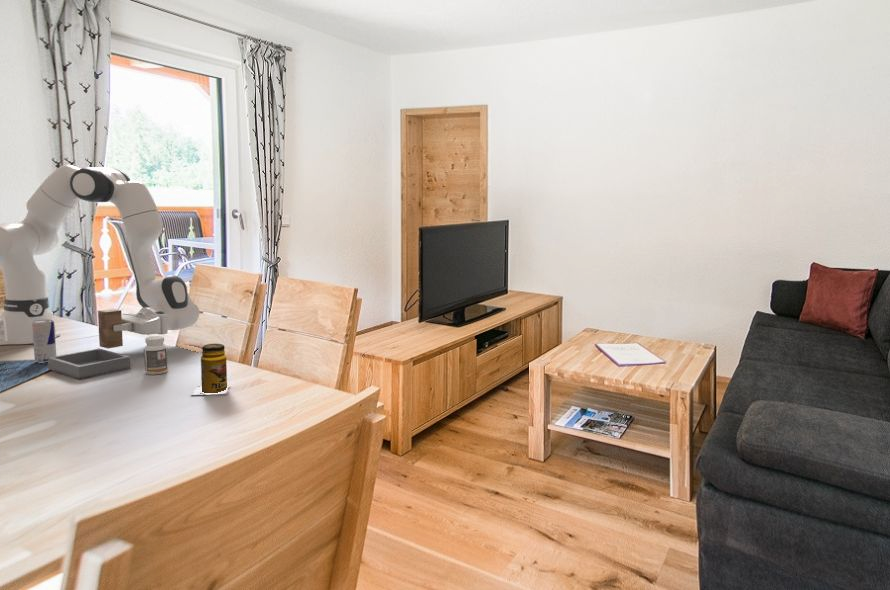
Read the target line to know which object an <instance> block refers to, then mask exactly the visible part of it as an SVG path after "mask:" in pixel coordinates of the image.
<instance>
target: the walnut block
mask: <svg viewBox="0 0 890 590" xmlns="http://www.w3.org/2000/svg"><path fill="white" fill-rule="evenodd" d="M121 313H122V310H121V309H117V308H106V309H100V310H97V321H98V322H97V323H98V339H99V340H98V341H99V347H101V348H104V349H113V348H119V347H123V346H124V345H123V343H124V342H123V331H113V330H112V325H116V324H118V325H119V324H122V316H121Z"/></svg>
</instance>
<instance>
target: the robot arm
mask: <svg viewBox="0 0 890 590" xmlns="http://www.w3.org/2000/svg"><path fill="white" fill-rule="evenodd" d="M81 200H83V201H85V202H89V203H108V202H109V203H112V204H114V206H115V207H116V208H117V211H118V213H119V215H120V218H121V220H122V223H123V227H124V231H125V235H126V246H127V247H126V248H127V252H128V257H129V261H130V265H131V267H132V272H133V276H134V280H135V285H136V289H135V291H136V293H135V296H136V300H137V302H138V304H139V305H140V306H141V307H142V308H141V309H140V310H139V311H138V312H137V313H132V312H121V316H122V324H119V325H118V324H116V325H112V330H113V331H122V332H123V331H124V332H130V333H134V334H138V335H148V336H149V335H167V334H168V331H178V330H183V329H187V328H191V327H192V326H193V325H195V324H196V323H197V322H198V320H199V317H200V308H199V306H198V304H196V303H195V302H194V300H192V298H191V297H190V294H189V292H188V287H187V284H186V283H185V281H184V280H183V279H182V278H181V277H179V276H177V275H173V274H172V275H171V274H170V275H166V276H163V277H160V278H157V277H156V273H155V270H154V265H153V261H152V258H151V251H152V248H153V246H154V244H155V242H156V241H157V240H158V239H159V237H160V236H161V235H162V232H163V223H162V217H161V215H160V212H159V209H158V207H157V204H156V202H155V200H154V197H153V196H152V194H151V192H150V191H149V189H148V187H147V186H146V184H144V183H143V182H141V181H138V180H131V178H130V177H129V176H128V174H127V173H125V172H123V171H122V170H119V169H116V168H111V167H103V166H100V167H99V166H98V167H93V166H90V167H89V166H87V167H83V168H79V167H77V166H75V165H72V164H63V165H61V166H59V167H58V168H57V169H55V170H54V171H52V173H51V174H50V175H48V177H46V179H44V181H42V183H41V184H40V185H39V186H38V188H37V189H36V191H35V192H34V193H33V194H32V195H31V197H30V198H29V199H28V200H27V202H26V204H25V205H26V206H25V207H26V210H27V213H26V216H25V217H24V219H23V220H21V221H19V222H7V223H6V222H4V223H0V270H1V272H2V275H3V282H4V291H5V293H4V294H5V298H4V300H3V301H4V302H3V311H2V313H1V314H0V346H2V345H29V344H33V331H32V324H33V321H36V320H53V322H54V327H55V338H57V337H59V336H61V332H59V331H57V329H56V328H57V327H56V322H55V315H54V312H52V311H51V310H50V309H49V308H50V301H49V297H48V295H47V283H46V275H45V272H43V271H42V270H40V269H39V267H38V266H37V263H36V262H35V259H34V256H40V255H44V254H46V253H49V252H51V251H53V250H55V248H56V247H57V246H58V243H59V235H58V233H59V229H60V227H61V225H62V223H63V222H64V221H65V219H66V218H67V217H68V216H69V215H70V213H71V212H72V210H73V209H74V208H75V207H76V206H77V205H78V203H79V202H80V201H81Z"/></svg>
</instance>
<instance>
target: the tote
mask: <svg viewBox="0 0 890 590" xmlns="http://www.w3.org/2000/svg"><path fill="white" fill-rule="evenodd" d="M47 365H48V370H49V369H50V370H52V371H51V372H53V371H54V372H53V373H56V374H61V375H63V376H67V377H69V378H72V379H75V380H78V381H82V380H85V379H90V378H93V377H94V378H95V377H98V376H104V375H109V374H112V373H117V372H122V371H125V370H130V369H132V366H131V356H130V355H126V354H121V353H119V352H114V351H112V350H111V351H110V350H106V349H102V348H99V347H98V348H94V349H87V350H82V351H77V352H71V353H66V354H60V355H56V356H54V357H49V358H48V363H47ZM50 370H49V371H50Z"/></svg>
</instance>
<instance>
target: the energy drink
mask: <svg viewBox="0 0 890 590" xmlns="http://www.w3.org/2000/svg"><path fill="white" fill-rule="evenodd" d="M55 327H56V326H55ZM55 327H54V322H53V320H36V321H33V324H32V331H33V343H32V345H33V356H34V362H35V363H36V362H38V363H37V364H40V363H39V362H48V358H49V357H54V356H57V346H56V345H57V343H56V337H55Z"/></svg>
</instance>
